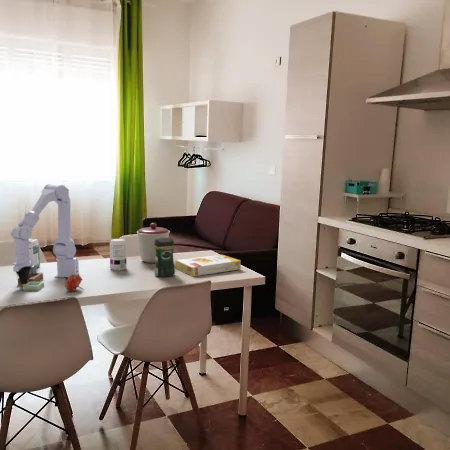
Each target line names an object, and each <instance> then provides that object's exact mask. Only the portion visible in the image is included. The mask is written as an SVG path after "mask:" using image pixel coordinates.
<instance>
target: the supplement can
mask: <svg viewBox="0 0 450 450" xmlns="http://www.w3.org/2000/svg"><path fill="white" fill-rule="evenodd" d="M127 261H128V260H127V241H126V240H125V239H124V238H113V239H110V242H109V268H110V269H111V271H124V270H126V269H127V265H128V264H127Z"/></svg>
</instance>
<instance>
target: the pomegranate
mask: <svg viewBox="0 0 450 450" xmlns="http://www.w3.org/2000/svg"><path fill="white" fill-rule="evenodd" d="M63 279H65V282H64V287H65V289H66V290H67V291H68V292H70V293H71V292H72V293H73V292H76V290H77V288H79V289H81V290H83V291H85V289H84V288H82V287H80V284H81V283H82V280H83V278H82V277H81V276H80V275H79V274H78V275H76V274H73V275H70V276H69V277H63Z"/></svg>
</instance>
